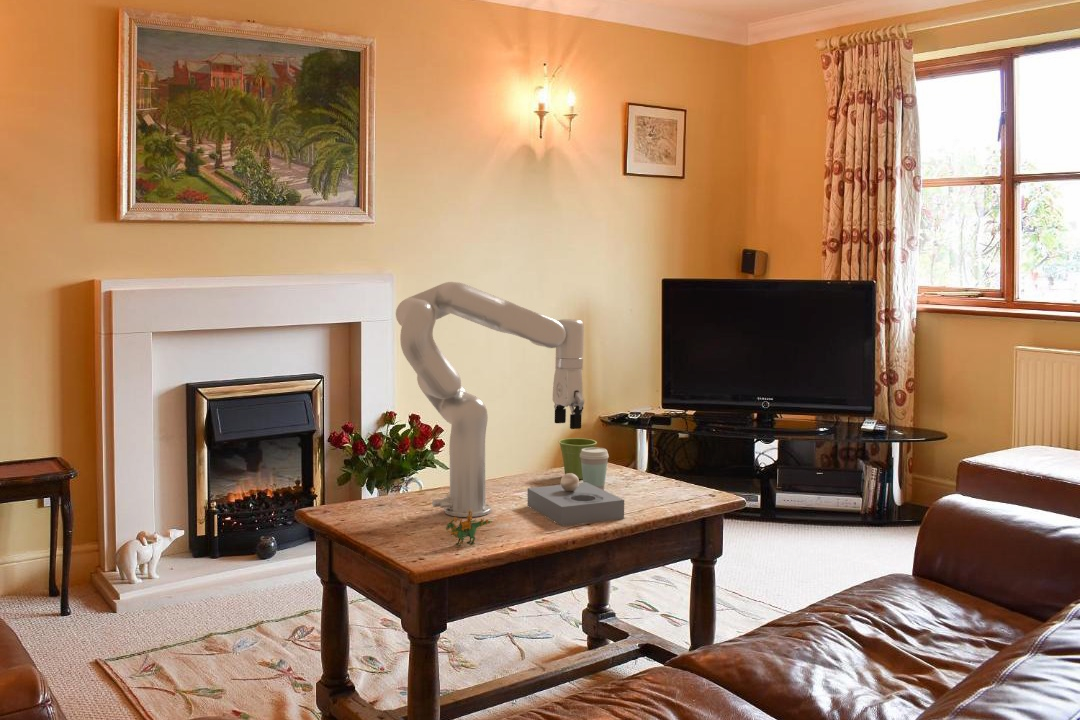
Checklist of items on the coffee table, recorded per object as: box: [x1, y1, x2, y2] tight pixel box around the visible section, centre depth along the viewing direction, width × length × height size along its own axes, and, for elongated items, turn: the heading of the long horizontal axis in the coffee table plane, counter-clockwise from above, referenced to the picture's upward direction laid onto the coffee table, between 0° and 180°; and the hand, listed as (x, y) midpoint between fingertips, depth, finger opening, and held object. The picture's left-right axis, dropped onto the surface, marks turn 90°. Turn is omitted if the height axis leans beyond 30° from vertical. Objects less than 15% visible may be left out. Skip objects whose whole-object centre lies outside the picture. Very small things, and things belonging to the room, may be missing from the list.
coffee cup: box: [580, 447, 610, 491], centre depth 294 cm, size 8×9×12 cm
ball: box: [560, 473, 580, 492], centre depth 272 cm, size 5×5×5 cm
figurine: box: [445, 510, 493, 547], centre depth 241 cm, size 3×12×8 cm, turn 118°
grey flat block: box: [527, 481, 625, 527], centre depth 270 cm, size 18×22×5 cm
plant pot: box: [558, 437, 598, 480], centre depth 311 cm, size 12×12×11 cm
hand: (567, 425), depth 279 cm, fingers open, 9 cm apart
